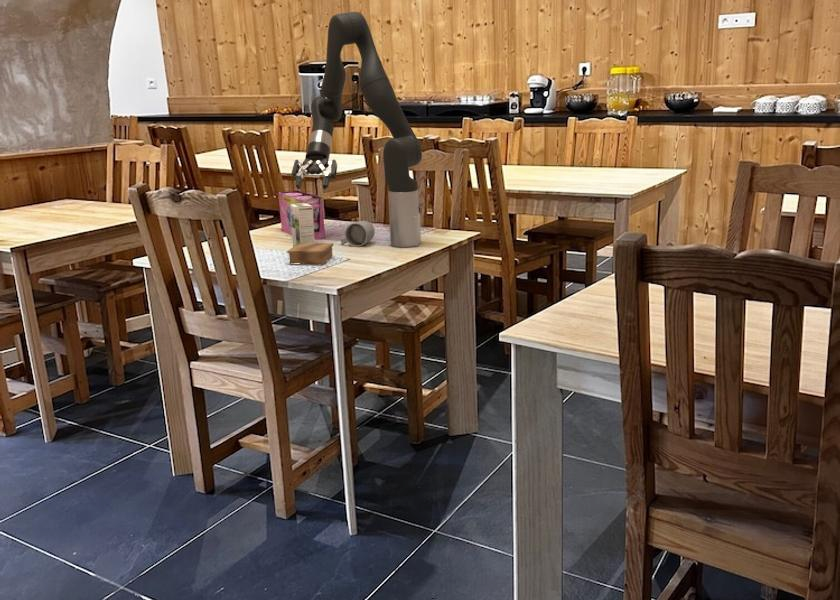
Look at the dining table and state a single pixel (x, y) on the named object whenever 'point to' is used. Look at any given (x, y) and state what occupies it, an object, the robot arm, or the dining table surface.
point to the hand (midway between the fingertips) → (311, 187)
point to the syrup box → (302, 223)
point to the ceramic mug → (358, 233)
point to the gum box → (295, 198)
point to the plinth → (310, 253)
